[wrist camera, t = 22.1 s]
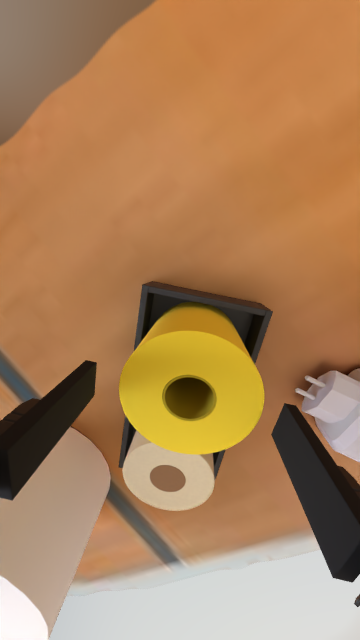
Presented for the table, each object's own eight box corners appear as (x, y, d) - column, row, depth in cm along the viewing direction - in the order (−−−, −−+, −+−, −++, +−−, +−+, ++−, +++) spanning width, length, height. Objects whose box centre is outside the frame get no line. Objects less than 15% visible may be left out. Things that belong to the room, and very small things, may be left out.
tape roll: (185, 395, 25) (176, 472, 16) (133, 335, 23) (91, 381, 14) (255, 354, 22) (293, 417, 13) (203, 283, 20) (205, 298, 11)
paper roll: (138, 440, 28) (118, 499, 21) (147, 386, 25) (127, 432, 18) (202, 456, 27) (202, 520, 20) (218, 402, 24) (225, 456, 18)
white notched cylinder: (-31, 439, 32) (-185, 557, 19) (63, 400, 27) (-56, 518, 15) (42, 519, 36) (-45, 661, 23) (133, 496, 32) (88, 654, 19)
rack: (128, 442, 29) (118, 467, 25) (151, 281, 22) (142, 284, 18) (210, 462, 28) (211, 490, 25) (261, 303, 21) (273, 311, 18)
